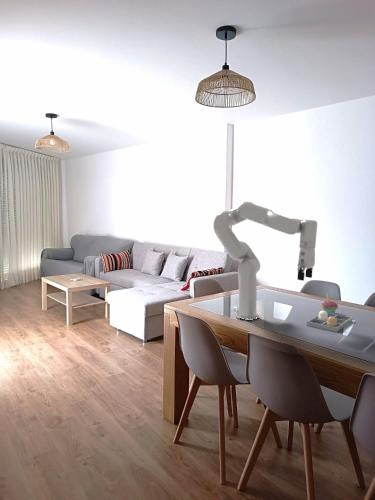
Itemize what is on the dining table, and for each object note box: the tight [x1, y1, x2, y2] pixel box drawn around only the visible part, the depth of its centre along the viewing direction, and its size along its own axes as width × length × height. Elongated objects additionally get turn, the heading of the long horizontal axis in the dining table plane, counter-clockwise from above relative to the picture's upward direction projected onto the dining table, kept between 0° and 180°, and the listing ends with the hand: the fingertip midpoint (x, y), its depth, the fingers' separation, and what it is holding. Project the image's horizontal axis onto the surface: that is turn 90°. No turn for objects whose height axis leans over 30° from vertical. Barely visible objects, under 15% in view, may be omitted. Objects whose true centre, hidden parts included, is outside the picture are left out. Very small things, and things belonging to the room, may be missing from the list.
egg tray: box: [306, 313, 353, 333], centre depth 185 cm, size 15×22×2 cm
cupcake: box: [321, 293, 339, 314], centre depth 203 cm, size 9×8×12 cm
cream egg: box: [318, 310, 328, 321], centre depth 187 cm, size 4×4×6 cm
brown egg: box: [327, 316, 337, 327], centre depth 177 cm, size 4×4×6 cm
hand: (304, 278), depth 184 cm, fingers open, 9 cm apart
